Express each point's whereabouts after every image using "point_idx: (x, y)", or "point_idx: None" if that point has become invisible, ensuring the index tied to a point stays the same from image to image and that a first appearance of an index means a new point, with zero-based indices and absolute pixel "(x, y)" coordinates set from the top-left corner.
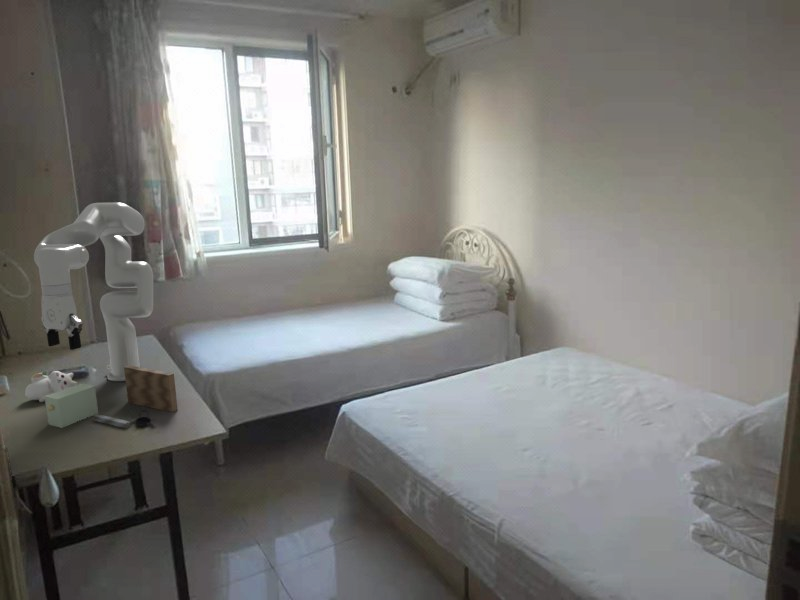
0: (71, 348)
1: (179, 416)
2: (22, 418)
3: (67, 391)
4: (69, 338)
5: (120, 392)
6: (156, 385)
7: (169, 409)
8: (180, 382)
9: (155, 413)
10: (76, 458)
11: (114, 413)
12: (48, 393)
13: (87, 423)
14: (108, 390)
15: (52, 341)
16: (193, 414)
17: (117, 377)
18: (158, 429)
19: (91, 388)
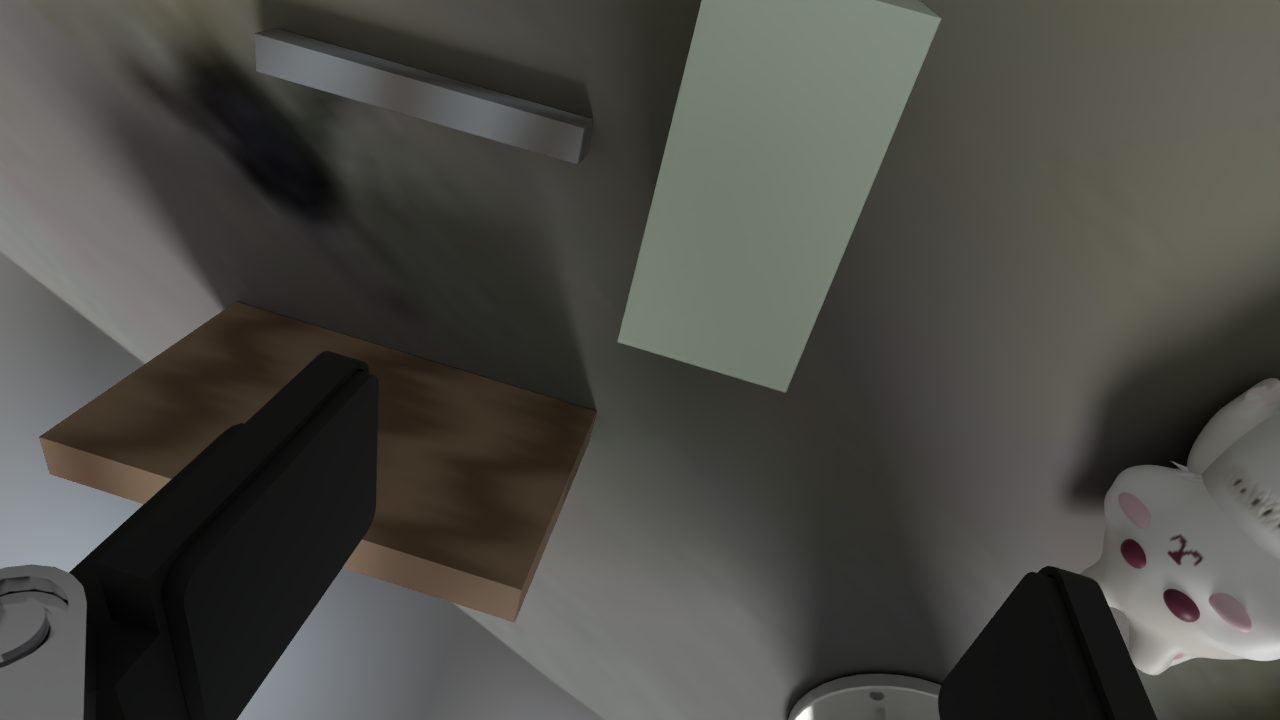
0: (315, 368)
1: (153, 251)
2: (1249, 66)
3: (771, 188)
4: (143, 527)
5: (757, 540)
6: (245, 420)
7: (249, 313)
8: (523, 647)
9: (310, 276)
10: None
11: (549, 250)
12: (1230, 446)
13: (601, 64)
14: (858, 566)
15: (1029, 686)
16: (113, 284)
17: (900, 702)
18: (89, 55)
19: (627, 307)
